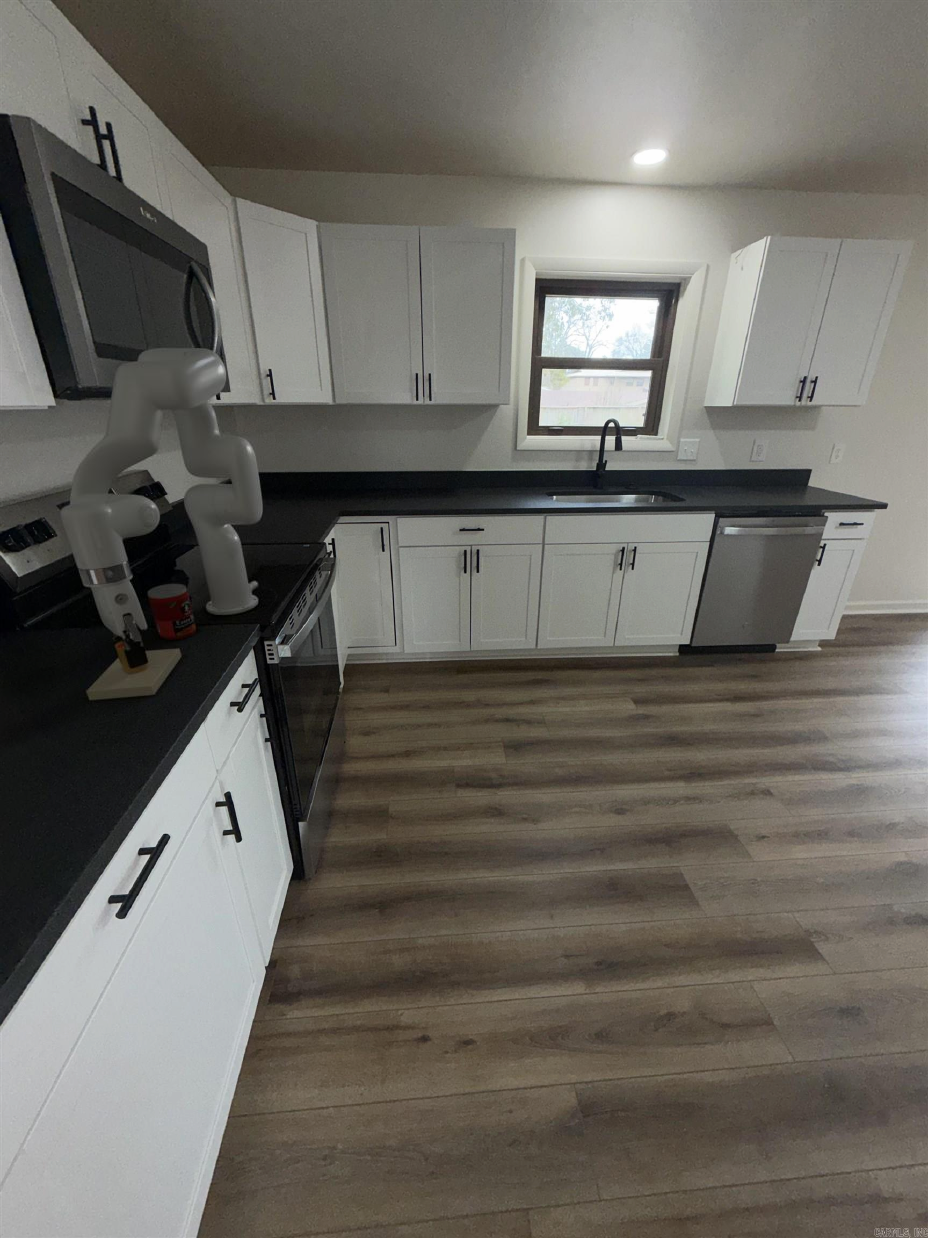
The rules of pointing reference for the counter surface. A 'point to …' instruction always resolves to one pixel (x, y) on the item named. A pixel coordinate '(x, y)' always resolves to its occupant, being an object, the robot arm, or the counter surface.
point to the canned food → (172, 611)
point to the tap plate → (135, 677)
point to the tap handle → (123, 660)
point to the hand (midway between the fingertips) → (133, 660)
